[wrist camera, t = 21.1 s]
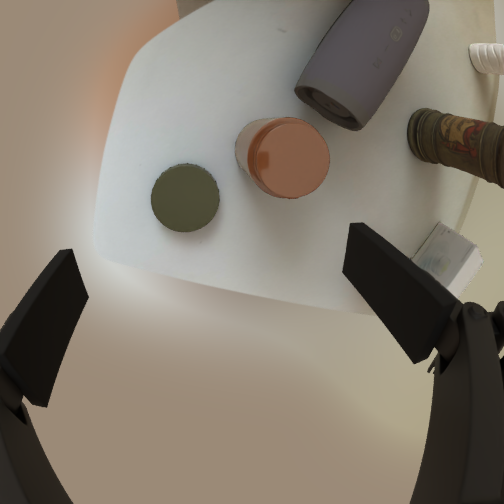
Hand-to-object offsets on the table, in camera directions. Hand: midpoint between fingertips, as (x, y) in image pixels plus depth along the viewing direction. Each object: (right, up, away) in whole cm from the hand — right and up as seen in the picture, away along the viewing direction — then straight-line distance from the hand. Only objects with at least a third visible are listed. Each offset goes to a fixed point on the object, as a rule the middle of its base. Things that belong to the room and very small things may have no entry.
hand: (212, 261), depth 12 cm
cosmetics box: (+35, +1, +32) cm, 47 cm away
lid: (-6, +6, +18) cm, 20 cm away
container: (+29, +19, +21) cm, 41 cm away
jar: (+3, +13, +19) cm, 23 cm away
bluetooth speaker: (+14, +27, +14) cm, 33 cm away
